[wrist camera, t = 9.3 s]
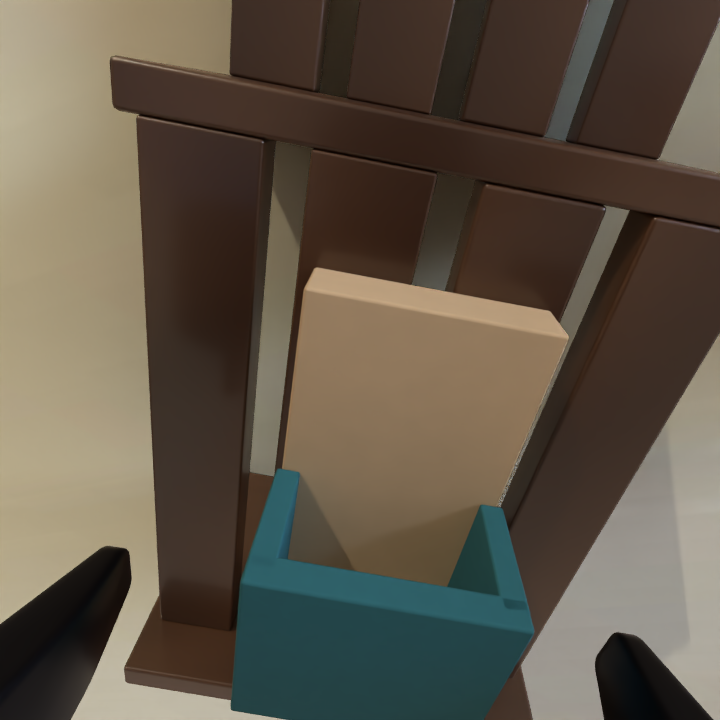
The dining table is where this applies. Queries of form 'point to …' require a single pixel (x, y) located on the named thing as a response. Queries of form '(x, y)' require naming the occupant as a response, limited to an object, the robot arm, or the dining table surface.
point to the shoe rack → (414, 263)
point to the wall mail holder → (393, 508)
